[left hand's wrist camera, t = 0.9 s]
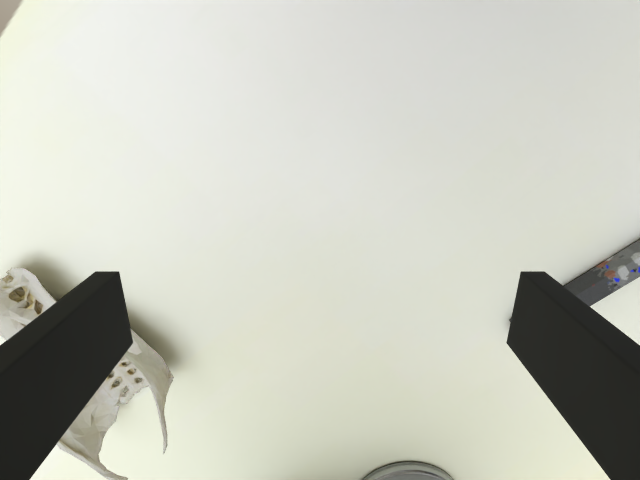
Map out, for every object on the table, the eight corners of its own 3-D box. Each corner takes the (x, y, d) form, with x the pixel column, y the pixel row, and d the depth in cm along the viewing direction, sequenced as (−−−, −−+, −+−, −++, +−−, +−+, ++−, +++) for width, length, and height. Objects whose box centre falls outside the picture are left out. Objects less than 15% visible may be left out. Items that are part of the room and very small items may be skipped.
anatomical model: (99, 499, 43) (-112, 359, 36) (134, 431, 52) (-30, 306, 44) (195, 437, 40) (-13, 269, 32) (215, 376, 49) (54, 231, 41)
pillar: (518, 330, 43) (695, 222, 38) (509, 320, 45) (676, 216, 40) (527, 343, 43) (703, 238, 39) (518, 332, 45) (684, 231, 41)
